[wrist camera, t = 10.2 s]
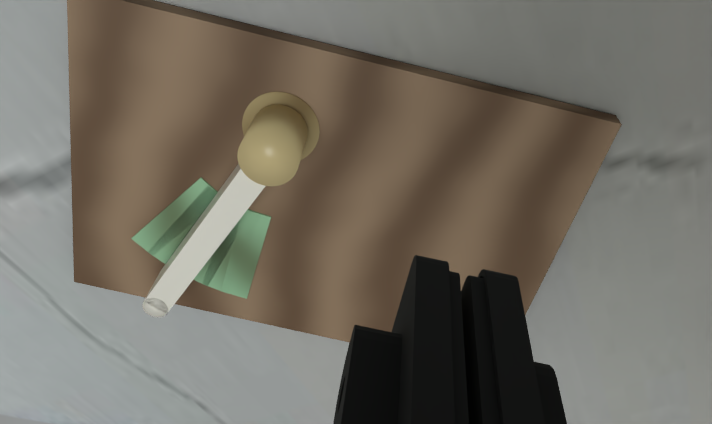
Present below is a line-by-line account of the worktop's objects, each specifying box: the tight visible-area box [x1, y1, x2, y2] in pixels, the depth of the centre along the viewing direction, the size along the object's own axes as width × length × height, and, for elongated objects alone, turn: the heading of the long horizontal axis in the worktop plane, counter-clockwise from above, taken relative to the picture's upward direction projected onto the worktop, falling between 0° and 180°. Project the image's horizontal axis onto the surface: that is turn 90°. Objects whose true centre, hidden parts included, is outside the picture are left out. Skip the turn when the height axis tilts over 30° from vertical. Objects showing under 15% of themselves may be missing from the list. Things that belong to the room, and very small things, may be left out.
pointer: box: [143, 105, 308, 318], centre depth 37 cm, size 16×3×3 cm, turn 144°
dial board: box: [67, 0, 622, 342], centre depth 39 cm, size 30×20×1 cm, turn 77°
